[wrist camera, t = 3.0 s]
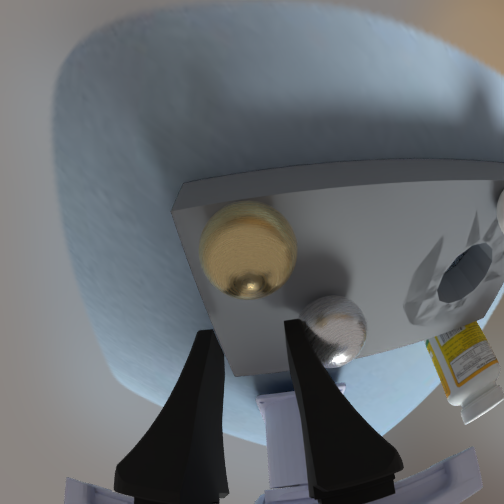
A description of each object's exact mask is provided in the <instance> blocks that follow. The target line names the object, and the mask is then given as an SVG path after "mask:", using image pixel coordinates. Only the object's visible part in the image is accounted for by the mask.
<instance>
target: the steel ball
mask: <svg viewBox="0 0 504 504" xmlns="http://www.w3.org/2000/svg"><path fill="white" fill-rule="evenodd" d="M298 319H300V320H301V321H302V324H303V327H304V330H305V332H306V334H307V336H308V339H309V341H310V343H311V345H312V347H313V349H314V350H315V352H316V354H317V356H318V357H319V359H320V361H321V363H322V364H323V366H324V368H336V367H340V366H343V365H345V364H347V363H349V362H351V361H352V360H353V359H354V358H356V357H357V356H358V355H359V353H360V352H361V350H362V349H363V347H364V345H365V342H366V339H367V331H368V330H367V322H366V318H365V316H364V314H363V312H362V310H361V309H360V308H359V307H358V306H357V305H356V304H355V303H354V302H353V301H351V300H349V299H347V298H345V297H342V296H336V295H329V296H323V297H320V298H318V299H316V300H314V301H312V302H311V303H309V304H308V305H307V306H306V307H305V308H304V309H303V310H302V312H301V313H300V315H299V317H298Z"/></svg>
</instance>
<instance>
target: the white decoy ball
mask: <svg viewBox="0 0 504 504" xmlns="http://www.w3.org/2000/svg"><path fill="white" fill-rule="evenodd" d="M497 219H498V223H499V226H500V228H501V230H502V232H503V234H504V190H503V191H502V193H501V194H500V196H499V199H498V203H497Z"/></svg>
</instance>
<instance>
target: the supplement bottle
mask: <svg viewBox="0 0 504 504" xmlns="http://www.w3.org/2000/svg"><path fill="white" fill-rule="evenodd" d="M424 342H425V345H426V347H427V350H428V352H429V354H430V356H431V359H432V361H433V363H434V366H435V368H436V371H437V373H438V375H439V378H440V381H441V383H442V386H443V388H444V391H445V394H446V396H447V399H448V401H449V403H450V404H451V405H454V406H459V405H461V406H462V410H461V416H462V419H463V422H464V424H465V425H466V424H468V423H470V422H472V421H473V420H475V419H477V418H478V417H480V416H481V415H483V414H485V413H486V412H487V411H489V410H490V409H492V408H493V407H495V406H496V405H497V404H499V403H500V402H501V401H502V400H503V399H504V394H503V391H502V388H501V387H500V385H496V382H495V381H496V380H497V378H498V376H499V374H500V365H499V363H498V361H497V358H496V356H495V355H494V352H493V350H492V349H491V347H490V345H489V343H488V341H487V339H486V337H485V335H484V334H483V332H482V330H481V328H480V326H479V325H478V323H477V321H475V322H472V323H470V324H467V325H465V326H462V327H460V328H457V329H454V330H452V331H449V332H446V333H443V334H441V335H438V336H435V337H432V338H429V339H426V340H424Z"/></svg>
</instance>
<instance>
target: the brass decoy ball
mask: <svg viewBox="0 0 504 504" xmlns="http://www.w3.org/2000/svg"><path fill="white" fill-rule="evenodd" d="M297 250H298V247H297V240H296V236H295V233H294V231H293V229H292V227H291V225H290V223H289V222H288V221H287V219H286V218H285V217H284V216H283V215H282V214H281V213H280V212H279V211H277V210H276V209H274V208H273V207H271V206H269V205H267V204H264V203H261V202H256V201H240V202H235V203H232V204H229V205H227V206H225V207H223V208H222V209H220V210H219V211H217V212H216V213H215V214H214V215H213V216H212V217H211V218H210V219H209V220H208V222H207V224H206V225H205V227H204V229H203V231H202V233H201V237H200V240H199V250H198V251H199V260H200V264H201V267H202V270H203V272H204V274H205V276H206V277H207V279H208V280H209V281H210V283H211V284H212V285H213V286H214V287H215V288H216V289H218V290H219V291H220V292H222V293H224V294H226V295H228V296H230V297H233V298H236V299H242V300H255V299H260V298H263V297H266V296H268V295H271V294H272V293H274V292H276V291H277V290H278V289H280V288H281V287H282V286H283V285H284V284H285V283H286V282H287V280H288V279H289V278H290V276H291V274H292V272H293V270H294V267H295V265H296V260H297Z"/></svg>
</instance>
